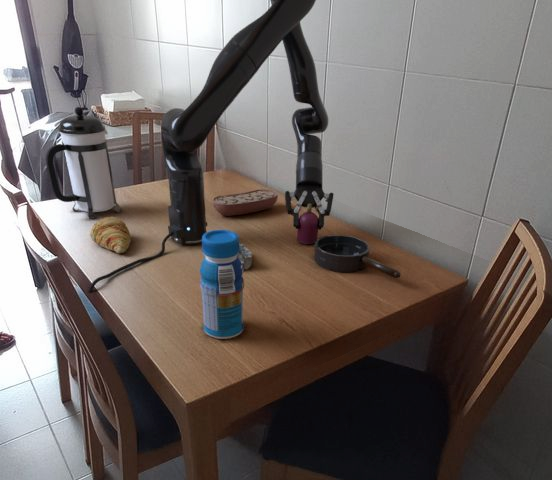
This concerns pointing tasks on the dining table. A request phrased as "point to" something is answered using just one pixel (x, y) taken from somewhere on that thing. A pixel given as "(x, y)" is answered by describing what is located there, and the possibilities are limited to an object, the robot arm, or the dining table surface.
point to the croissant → (111, 234)
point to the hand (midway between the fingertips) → (308, 228)
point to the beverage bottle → (222, 284)
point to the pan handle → (381, 267)
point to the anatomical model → (245, 202)
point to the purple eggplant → (308, 227)
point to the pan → (340, 253)
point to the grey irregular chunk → (244, 256)
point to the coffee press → (84, 164)
